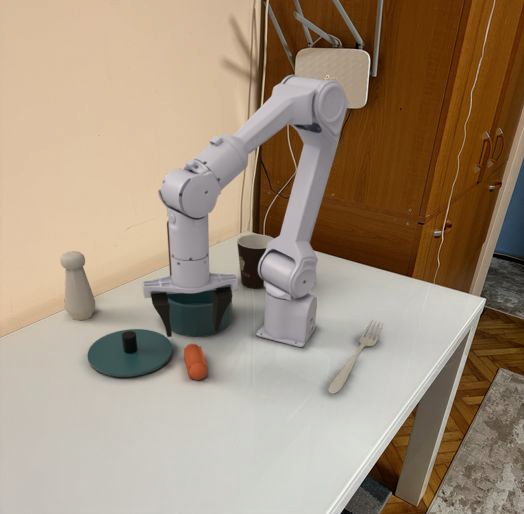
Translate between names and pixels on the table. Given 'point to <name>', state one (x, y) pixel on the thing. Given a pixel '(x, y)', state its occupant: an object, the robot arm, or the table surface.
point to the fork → (354, 359)
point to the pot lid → (130, 352)
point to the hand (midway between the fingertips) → (192, 331)
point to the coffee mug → (251, 258)
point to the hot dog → (195, 362)
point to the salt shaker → (77, 287)
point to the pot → (195, 314)
